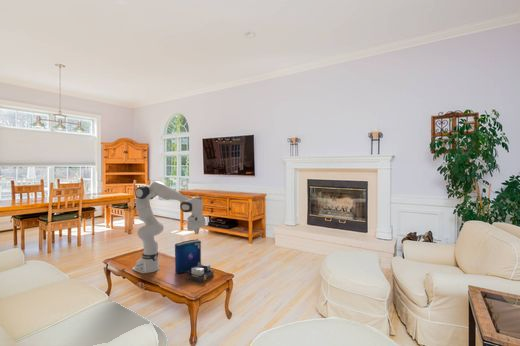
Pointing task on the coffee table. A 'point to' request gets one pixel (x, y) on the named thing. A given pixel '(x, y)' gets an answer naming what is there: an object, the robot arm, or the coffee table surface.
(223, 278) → the coffee table surface
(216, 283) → the coffee table surface
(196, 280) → the rack
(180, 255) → the book
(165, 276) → the coffee table surface
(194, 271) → the block
